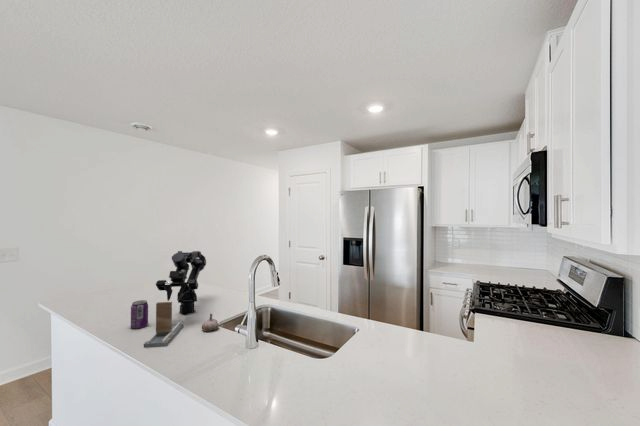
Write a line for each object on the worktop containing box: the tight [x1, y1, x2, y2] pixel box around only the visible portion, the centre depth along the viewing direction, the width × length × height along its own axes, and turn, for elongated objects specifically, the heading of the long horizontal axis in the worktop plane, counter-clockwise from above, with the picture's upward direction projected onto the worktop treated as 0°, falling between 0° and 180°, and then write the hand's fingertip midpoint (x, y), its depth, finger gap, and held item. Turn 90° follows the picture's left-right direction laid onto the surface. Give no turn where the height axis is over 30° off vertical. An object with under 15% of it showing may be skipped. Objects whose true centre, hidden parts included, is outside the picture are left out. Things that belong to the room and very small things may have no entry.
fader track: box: [143, 321, 185, 348], centre depth 123 cm, size 20×9×2 cm, turn 9°
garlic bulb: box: [201, 312, 220, 332], centre depth 130 cm, size 8×7×8 cm
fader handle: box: [155, 301, 173, 337], centre depth 121 cm, size 4×6×14 cm, turn 99°
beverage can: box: [130, 299, 149, 329], centre depth 133 cm, size 7×7×12 cm
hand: (172, 300), depth 131 cm, fingers open, 4 cm apart
